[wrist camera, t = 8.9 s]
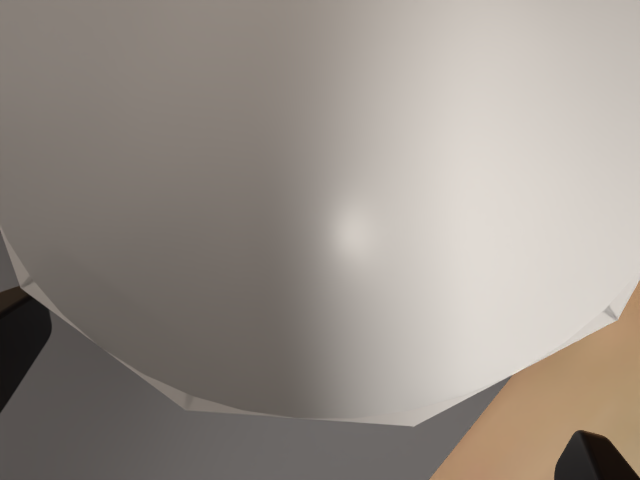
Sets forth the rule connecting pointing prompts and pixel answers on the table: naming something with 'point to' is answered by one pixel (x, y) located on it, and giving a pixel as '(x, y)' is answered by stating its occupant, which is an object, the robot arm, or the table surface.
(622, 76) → the cover cup
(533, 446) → the table surface
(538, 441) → the table surface
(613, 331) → the table surface
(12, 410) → the mat
